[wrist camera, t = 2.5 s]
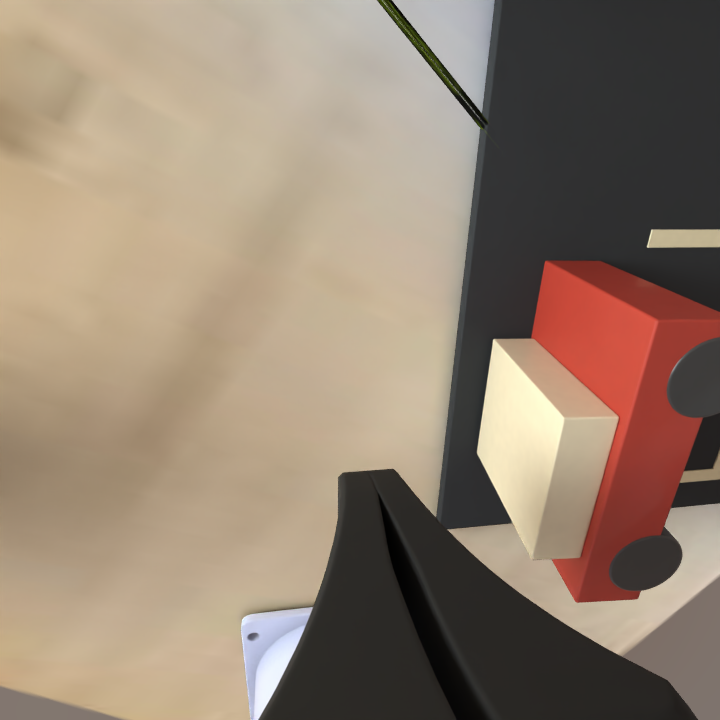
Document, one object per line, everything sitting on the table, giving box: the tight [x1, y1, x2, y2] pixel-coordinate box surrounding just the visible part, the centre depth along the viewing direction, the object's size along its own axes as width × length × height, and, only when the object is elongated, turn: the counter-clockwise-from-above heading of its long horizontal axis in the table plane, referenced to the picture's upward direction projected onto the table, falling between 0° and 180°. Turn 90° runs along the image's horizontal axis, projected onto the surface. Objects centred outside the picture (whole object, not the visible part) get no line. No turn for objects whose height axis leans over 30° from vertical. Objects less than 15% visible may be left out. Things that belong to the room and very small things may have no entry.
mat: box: [436, 0, 720, 529], centre depth 18 cm, size 20×15×1 cm
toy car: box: [477, 261, 720, 603], centre depth 16 cm, size 9×4×6 cm, turn 178°
